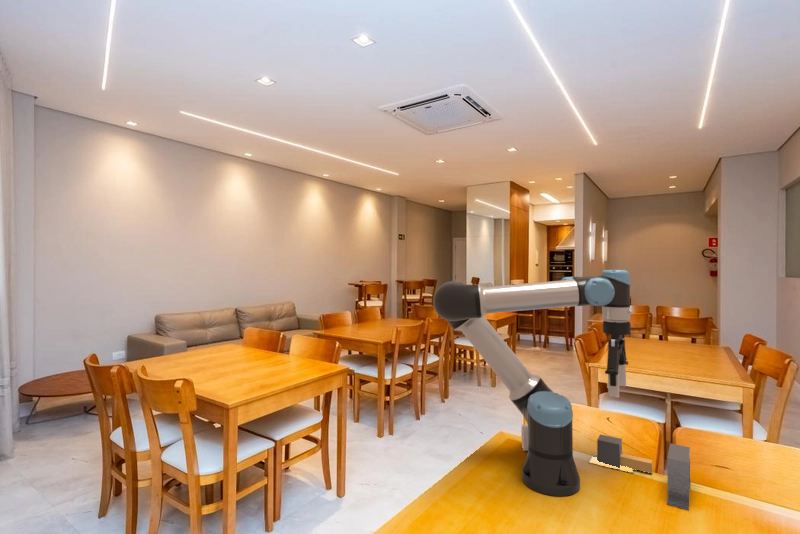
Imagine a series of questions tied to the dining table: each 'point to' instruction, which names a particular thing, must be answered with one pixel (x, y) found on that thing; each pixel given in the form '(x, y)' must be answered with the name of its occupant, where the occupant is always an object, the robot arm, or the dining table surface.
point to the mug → (524, 437)
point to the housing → (678, 476)
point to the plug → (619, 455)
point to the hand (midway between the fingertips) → (617, 390)
